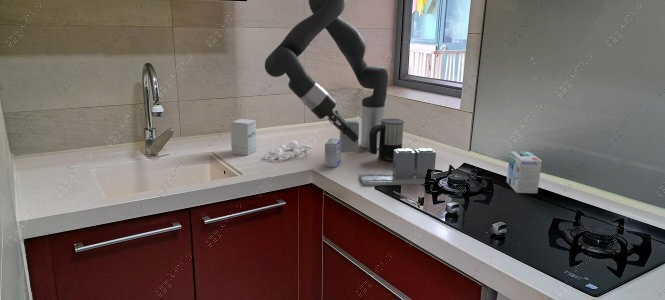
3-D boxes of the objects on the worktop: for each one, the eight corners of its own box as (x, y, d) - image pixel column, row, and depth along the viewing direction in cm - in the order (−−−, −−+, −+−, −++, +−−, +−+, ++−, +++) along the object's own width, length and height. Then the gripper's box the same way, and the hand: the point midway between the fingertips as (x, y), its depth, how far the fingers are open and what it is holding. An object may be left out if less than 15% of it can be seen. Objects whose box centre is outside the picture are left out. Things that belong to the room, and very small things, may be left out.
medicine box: (336, 167, 171) (337, 144, 168) (324, 166, 172) (324, 143, 169) (340, 161, 178) (341, 138, 176) (329, 160, 179) (329, 138, 177)
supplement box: (248, 155, 183) (247, 123, 179) (231, 153, 185) (229, 121, 182) (257, 151, 189) (256, 119, 186) (240, 149, 192) (239, 118, 188)
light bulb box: (505, 181, 159) (509, 150, 156) (526, 182, 159) (530, 151, 156) (516, 193, 149) (520, 160, 146) (538, 193, 149) (543, 160, 146)
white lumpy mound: (281, 169, 172) (281, 158, 171) (255, 158, 181) (255, 147, 180) (317, 156, 186) (318, 146, 185) (291, 146, 195) (292, 137, 194)
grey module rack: (358, 177, 160) (360, 147, 158) (428, 176, 163) (430, 146, 160) (363, 185, 153) (364, 153, 150) (435, 184, 156) (438, 152, 153)
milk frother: (388, 153, 190) (390, 116, 186) (421, 162, 179) (424, 123, 175) (364, 160, 180) (366, 122, 176) (397, 170, 169) (400, 129, 165)
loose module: (339, 149, 155) (340, 119, 152) (356, 149, 155) (357, 119, 153) (340, 152, 151) (341, 122, 149) (358, 152, 152) (359, 122, 149)
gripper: (329, 95, 141) (368, 135, 145) (324, 88, 154) (360, 125, 159) (310, 113, 141) (350, 152, 146) (307, 104, 155) (344, 140, 160)
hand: (355, 138), depth 152 cm, fingers closed on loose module, 3 cm apart
